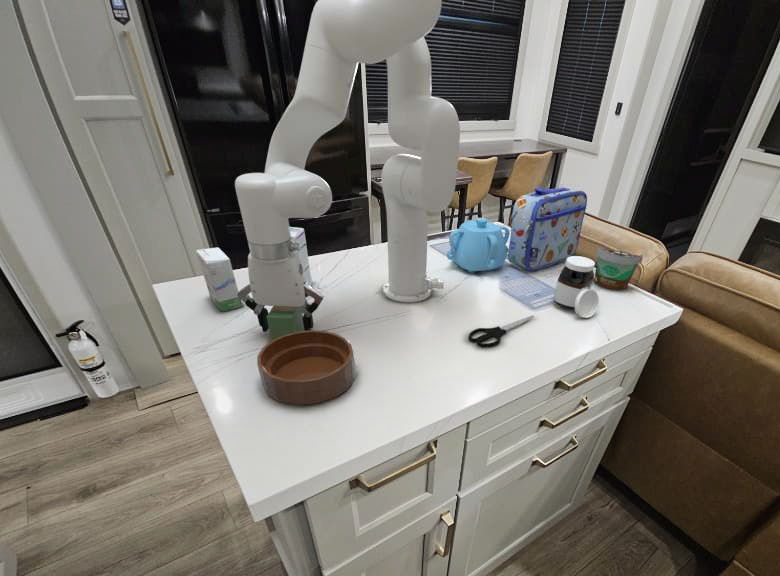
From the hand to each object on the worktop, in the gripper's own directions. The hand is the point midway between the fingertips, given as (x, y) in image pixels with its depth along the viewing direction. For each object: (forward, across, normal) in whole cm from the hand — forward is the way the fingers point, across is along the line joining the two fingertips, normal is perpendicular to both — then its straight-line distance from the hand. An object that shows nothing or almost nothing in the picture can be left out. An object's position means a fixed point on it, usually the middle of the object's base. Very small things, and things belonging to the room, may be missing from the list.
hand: (287, 329), depth 88 cm
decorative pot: (+1, -44, -43) cm, 62 cm away
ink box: (+1, +18, -13) cm, 22 cm away
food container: (+1, -81, -32) cm, 87 cm away
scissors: (+1, -47, -5) cm, 48 cm away
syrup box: (+1, +4, -23) cm, 23 cm away
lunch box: (+1, -64, -48) cm, 80 cm away
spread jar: (+1, -67, -18) cm, 69 cm away
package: (+1, 0, 0) cm, 1 cm away
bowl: (+1, -8, +15) cm, 17 cm away
